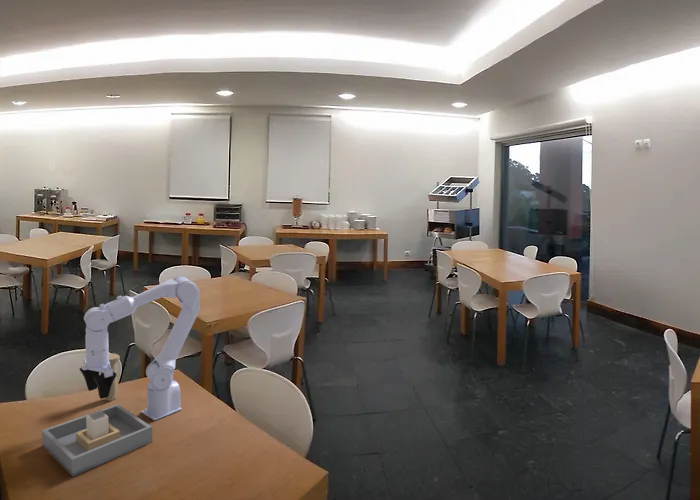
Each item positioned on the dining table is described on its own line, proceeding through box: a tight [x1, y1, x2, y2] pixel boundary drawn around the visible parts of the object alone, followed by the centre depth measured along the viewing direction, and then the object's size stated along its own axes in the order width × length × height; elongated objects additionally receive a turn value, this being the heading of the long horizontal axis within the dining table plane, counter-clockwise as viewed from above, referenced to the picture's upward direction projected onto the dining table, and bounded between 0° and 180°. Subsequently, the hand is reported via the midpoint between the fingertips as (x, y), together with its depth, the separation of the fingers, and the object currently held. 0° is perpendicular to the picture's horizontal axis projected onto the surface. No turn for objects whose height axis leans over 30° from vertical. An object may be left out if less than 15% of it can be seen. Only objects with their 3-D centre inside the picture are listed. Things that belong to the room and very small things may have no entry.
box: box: [41, 403, 153, 477], centre depth 117 cm, size 20×20×4 cm
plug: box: [86, 410, 109, 440], centre depth 116 cm, size 4×4×8 cm
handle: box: [105, 352, 121, 402], centre depth 141 cm, size 5×6×15 cm
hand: (98, 393), depth 124 cm, fingers open, 7 cm apart
